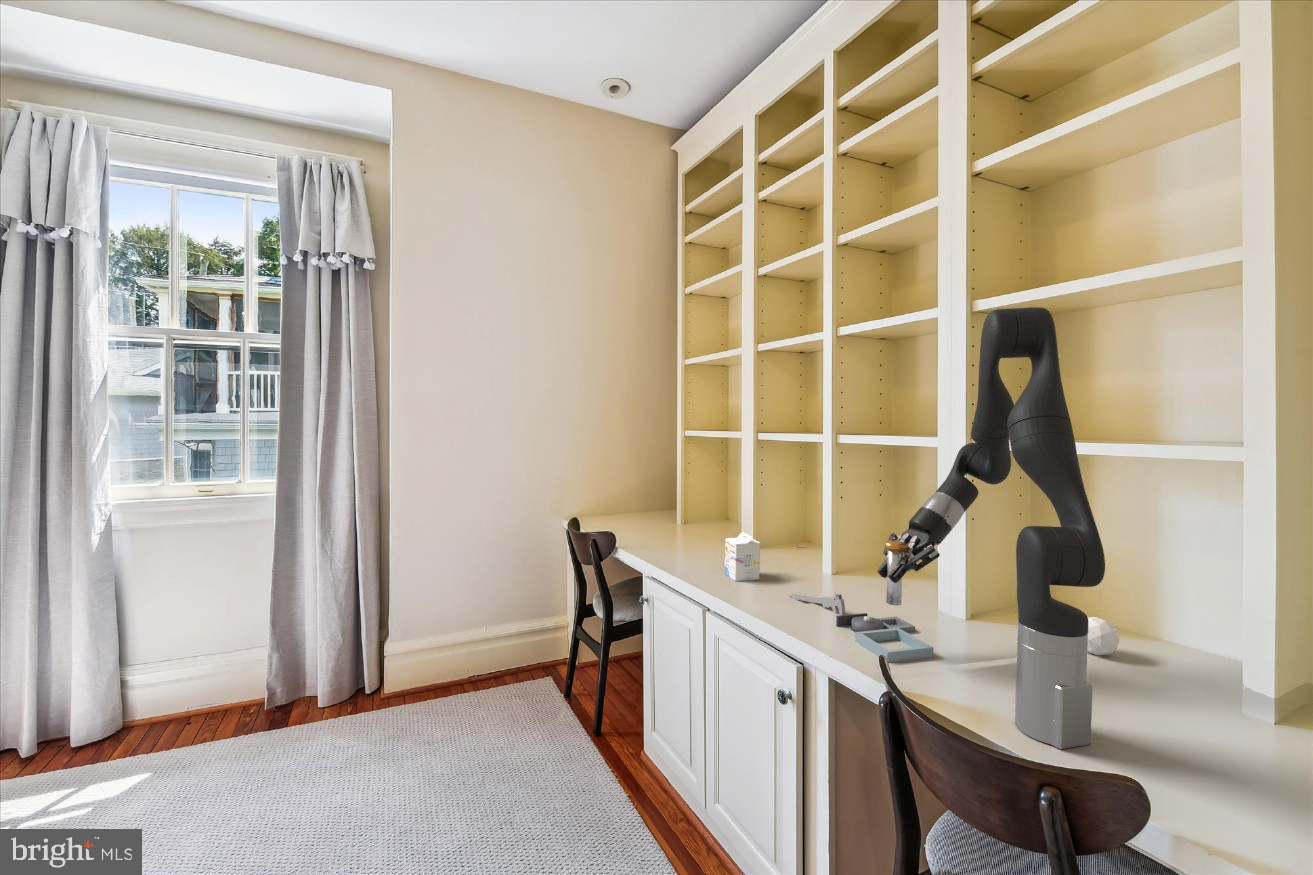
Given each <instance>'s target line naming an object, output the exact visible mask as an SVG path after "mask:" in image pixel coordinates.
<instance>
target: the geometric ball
mask: <svg viewBox="0 0 1313 875" xmlns="http://www.w3.org/2000/svg"><path fill="white" fill-rule="evenodd" d="M1087 617H1088V616H1087ZM1119 636H1120V635H1119V634H1118V630H1117V628H1116V627H1115V626H1114V625H1113V624H1111V623H1110V622H1109V621H1107V620H1105V619H1102V618H1100V617H1096V616H1091V617H1088V647H1087V653H1089V654H1092V655H1096V656H1097V657H1098V656H1107V655H1108V656H1109V655H1110V654H1112V653H1114V652H1115V651H1116V650H1117V649H1118V647H1119V643H1120V637H1119Z"/></svg>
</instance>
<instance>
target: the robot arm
mask: <svg viewBox="0 0 1313 875" xmlns="http://www.w3.org/2000/svg"><path fill="white" fill-rule="evenodd" d="M1056 331H1057V330H1056V324H1055V320H1054V317H1053V314H1051V312H1050V311H1049V310H1048V309H1047V308H1045V307H1039V306H1037V307H1035V306H1034V307H1019V308H1018V307H1017V308H1014V307H1013V308H1002V309H1001V308H997V309H995V310H991V311H990V312H989V313H988V314H987V315H986V317H985V319H984V322H983V326H982V328H981V335H980V336H981V337H980V347H979V361H978V362H979V366H978V379H977V380H978V384H977V386H978V387H977V389H978V390H977V402H976V407H975V411H974V417H973V422H972V427H971V431H970V437H971V439H972V440H973V442H970V443H967V444H965V445H963V446H962V447H961V448H960V449H959V450H958V453H957V455H956V457H955V460H954V463H953V465H952V467H951V470H950V472H949V474H948V475H947V476H946V478H945V480H944V481H943V483H942V484H940V486H939V487H938V488H937V490H935V492H934V493H932V495H931V496H929V497H928V498H927V499H926V501H924V502H923V504H922V505H921V507H919V509H918V510H917V511H916V512H915V513H914V515H913V516H912V517H911V518H910V519H909V521H908V529H906V530H904V532H902V534H900V535H897V534H896V533H894V532H892V533H891V534H890V535H889V536H888V538H887V541H890V540H893V541H901V542H905V543H907V549H906V550H903V558H902V560H901V561H900V563H901V564H899V563H898V564H897V565H896V566H895V568H894V569H893V570H892V571H891V572H890V574H889V575H888V578H889V579H890V580H891V581H892V582H894V583H897V582H898V581H899V580H900V579H901V578H902V579H903V577H904V576H905V575H906V574H907V572H911V571H912V570H914V571H915V572H918V571H921V569H923V568H924V567H926V566H928V565H929V564H930V563H932V562H933V561H935V560H936V559H939V557H940V555H941V554H940V553H939V551H938V550H937V549H936V548H935V546H939V545H940V544H942V542H943V541H944V540H945V539H946V538H947V536H948V535H949V534H950V533H951V532H952V530H954V528H955V527H956V526H957V525H958V524H959V521H960V520H961V519H962V517H963V515H964V514H965V513H966V511H968V509H969V507H971V506H972V505H973V503H974V502H976V501H975V500H976V499H977V497H978V496H979V490H978V487H977V486H976V485H975V484H974V483H973V482H972V481H971V480H969V479H968V478H967V477H965V476H966V475H969V476H970V477H972V478H975V479H977V480H979V481H981V482H984V483H986V484H988V485H993V486H995V485H999V484H1001V483H1003V482H1004V481H1005V480H1007V478H1008V477H1009V475H1010V472H1011V468H1012V457H1013V459H1014V460H1015V462H1016V464H1017V465H1018V466H1019V467H1020V469H1021V470H1022V471H1023V472H1024V474H1026V475H1027V476H1028V478H1030V479H1031V481H1032V482H1033V483H1034V484H1035V485H1036V486H1037V487H1038V488H1039V489H1040V490H1041V491H1042V493H1044V495H1045V496H1046V497H1047V499H1048V500H1049V501H1050V503H1051V505H1052V507H1053V509H1054V510H1055V513H1056V515H1057V518H1058V520H1059V524H1060V526H1051V525H1050V526H1047V525H1046V526H1045V525H1031V526H1029V525H1028V526H1025V527H1024V528H1022V529H1021V530H1020V532H1018V533H1019V534H1018V536H1017V540H1016V547H1015V560H1016V561H1015V562H1016V563H1015V565H1016V566H1015V567H1016V602H1017V611H1018V616H1017V638H1016V640H1017V642H1016V670H1015V671H1016V673H1015V674H1016V675H1015V700H1014V702H1015V703H1014V704H1015V705H1014V706H1015V708H1014V724H1015V726H1016V728H1017V729H1018V730H1019V731H1020V732H1022V733H1023V734H1025V735H1027V736H1028V737H1030V738H1033V739H1034V740H1037V741H1040V742H1042V743H1044V744H1049V745H1051V746H1054V747H1055V748H1057V749H1059V750H1063V749H1068V748H1069V749H1070V748H1075V747H1080V746H1087V745H1091V742H1092V740H1091V738H1092V719H1093V718H1092V717H1093V716H1092V715H1093V714H1092V713H1093V687H1094V686H1093V684H1092V683H1091V682H1089V681H1087V670H1088V667H1087V666H1088V665H1087V664H1088V652H1087V647H1088V616H1087V614H1086V613H1085V612H1084V611H1082V610H1081V609H1079V608H1078V607H1075V606H1074V605H1070V604H1068V603H1066V602H1065V603H1064V602H1062V601H1060V600H1057V599H1055V598H1054V597H1052V595H1051V586H1061V587H1078V588H1079V587H1080V588H1092V587H1096V586H1098V585H1100V584H1102V583H1101V582H1102V581H1103V579H1104V577H1105V573H1106V572H1105V571H1106V558H1105V551H1104V547H1103V543H1102V540H1101V536H1100V534H1099V530H1098V527H1097V524H1096V520H1095V517H1094V515H1093V512H1092V508H1091V506H1090V505H1091V504H1090V503H1089V499H1088V495H1087V492H1086V489H1085V486H1084V481H1083V477H1082V476H1083V475H1082V473H1081V468H1080V461H1079V458H1078V453H1077V445H1076V440H1075V434H1074V431H1073V430H1074V429H1073V425H1072V421H1071V416H1070V413H1069V410H1068V406H1067V402H1066V401H1067V400H1066V397H1065V391H1064V386H1063V382H1062V377H1061V369H1060V359H1059V349H1058V338H1057V332H1056ZM1015 358H1017V359H1018V358H1020V359H1021V358H1022V359H1023V358H1028V359H1029V360H1030V361H1031V362H1030V363H1031V375H1030V378H1029V379H1028V383H1027V384H1026V386H1025V388H1024V390H1023V391H1022V392H1021V394H1020V395H1019V397H1018V399H1017V400H1016V402H1015V403H1014V400H1013V398H1012V396H1011V393H1010V392H1009V390H1008V388H1007V387H1006V386H1005V383H1004V382H1003V380H1002V378H1001V374H1000V370H999V368H1000V360H1001V359H1015ZM1011 454H1012V455H1011ZM882 553H883V555H884V556H885V557H886V559H885V561H883V562H882V564H881V565H880V566H879V567H878V569H877V573H878V574H879V575H880V577H882V578H884V579H887V554H888V549H887V548H885V547H884V549H883V550H882Z"/></svg>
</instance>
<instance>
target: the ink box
mask: <svg viewBox="0 0 1313 875" xmlns="http://www.w3.org/2000/svg"><path fill="white" fill-rule="evenodd" d="M760 559H761V542H760V541H757V540H756V539H754V538H753V536H751V535H750V534H747V533H746V532H743V531H742V532H741V533H740V534H739V535H738V536H737V537H726V538H725V547H724V575H725V576H727V577H729V578H730V579H731V580H733V581H735V582H741V581H743V582H744V581H755V580H760V566H761V565H760V562H761V560H760Z"/></svg>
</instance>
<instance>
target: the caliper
mask: <svg viewBox="0 0 1313 875" xmlns="http://www.w3.org/2000/svg"><path fill="white" fill-rule="evenodd" d="M842 596H843V595H842V594H841V593H840V594H838V593H835V594H834V597H833V596H826V595H825V596H815V595H810V594H809V595H808V594H803V593H797V592H795V593H794V592H793V593H791V594H789V595H788V597H790V598H792V599H794V600H796V599H797V601H803V602H809V603H810V602H811V603H815V604H821V605H822V607H823V608H827V609H828V608H831V609H832V612H833V613H834V614H835V615H837V614H839V615H846V605H845V600H844V599H843V597H842Z"/></svg>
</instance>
